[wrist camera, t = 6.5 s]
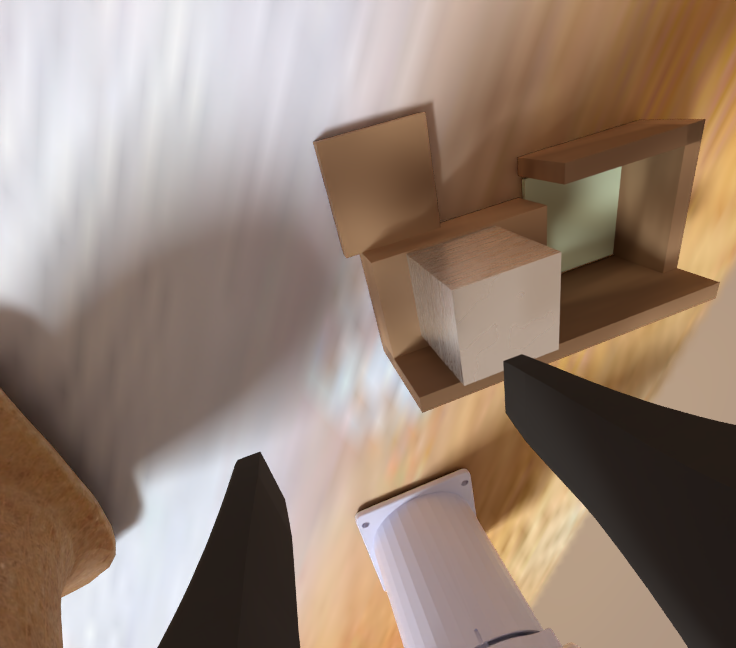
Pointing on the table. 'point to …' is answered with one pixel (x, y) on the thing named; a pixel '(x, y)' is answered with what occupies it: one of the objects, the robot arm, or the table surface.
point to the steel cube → (487, 300)
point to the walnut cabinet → (524, 231)
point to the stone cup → (43, 534)
